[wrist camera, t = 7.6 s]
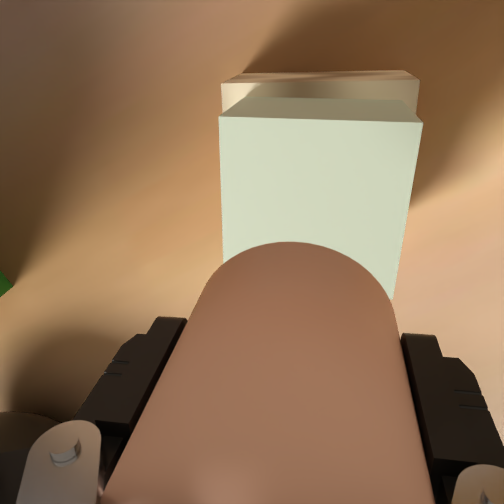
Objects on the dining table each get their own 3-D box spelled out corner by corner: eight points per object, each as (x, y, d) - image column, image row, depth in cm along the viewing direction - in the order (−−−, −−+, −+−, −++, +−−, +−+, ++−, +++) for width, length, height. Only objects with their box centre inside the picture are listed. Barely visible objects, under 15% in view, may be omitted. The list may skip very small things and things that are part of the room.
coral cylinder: (408, 245, 11) (484, 464, 5) (385, 412, 13) (421, 673, 8) (187, 237, 11) (64, 417, 6) (206, 395, 14) (128, 619, 9)
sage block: (402, 100, 22) (423, 122, 17) (380, 243, 26) (392, 299, 20) (245, 96, 23) (218, 116, 18) (245, 234, 27) (224, 284, 22)
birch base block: (403, 69, 27) (420, 79, 21) (386, 221, 31) (396, 260, 26) (242, 73, 28) (221, 83, 23) (247, 216, 33) (231, 252, 28)
